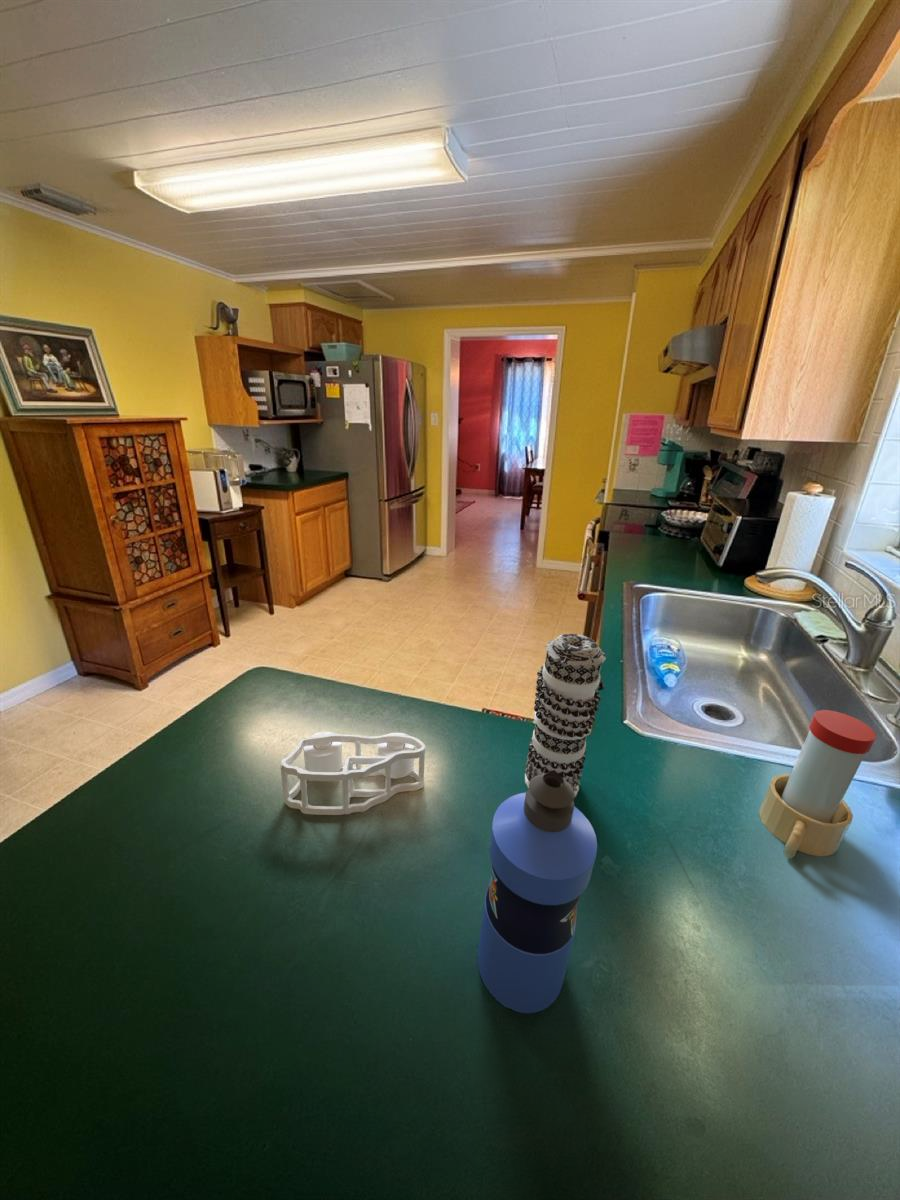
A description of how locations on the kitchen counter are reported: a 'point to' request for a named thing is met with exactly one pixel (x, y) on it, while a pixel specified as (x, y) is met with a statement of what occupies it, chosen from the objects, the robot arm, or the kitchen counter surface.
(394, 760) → the white open frame caddy
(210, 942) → the kitchen counter surface
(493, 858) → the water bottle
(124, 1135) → the kitchen counter surface
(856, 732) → the jar
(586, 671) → the decorative candle
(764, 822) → the mug
